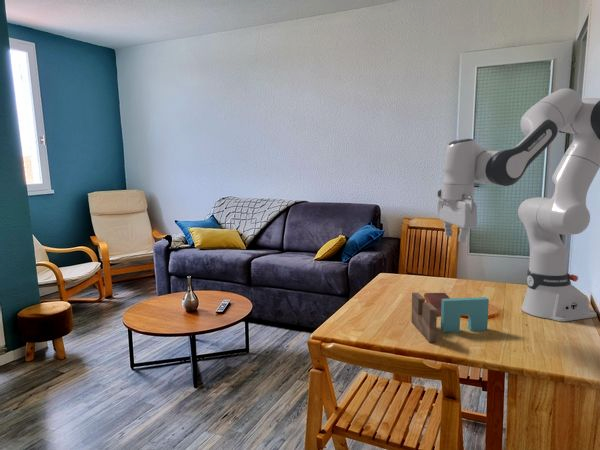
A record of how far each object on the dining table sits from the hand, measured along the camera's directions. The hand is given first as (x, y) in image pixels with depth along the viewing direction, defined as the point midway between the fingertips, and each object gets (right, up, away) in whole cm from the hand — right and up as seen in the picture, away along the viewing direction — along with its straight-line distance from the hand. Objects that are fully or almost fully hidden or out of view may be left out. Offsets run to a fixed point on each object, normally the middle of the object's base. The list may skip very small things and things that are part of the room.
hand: (454, 238), depth 131 cm
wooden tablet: (+4, -26, +26) cm, 37 cm away
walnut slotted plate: (-9, -29, +2) cm, 30 cm away
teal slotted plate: (+4, -28, +2) cm, 29 cm away
